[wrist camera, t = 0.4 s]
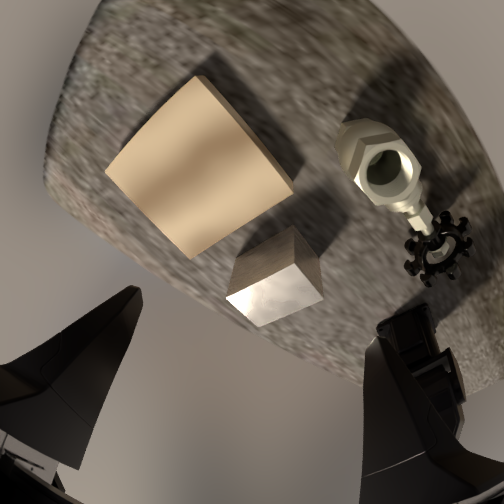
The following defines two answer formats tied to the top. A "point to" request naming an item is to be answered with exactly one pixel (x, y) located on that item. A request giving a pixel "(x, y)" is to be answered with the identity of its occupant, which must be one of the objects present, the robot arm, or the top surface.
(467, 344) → the top surface
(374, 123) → the valve
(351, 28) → the top surface
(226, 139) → the oak plate
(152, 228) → the top surface
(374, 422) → the robot arm
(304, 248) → the aluminium block
